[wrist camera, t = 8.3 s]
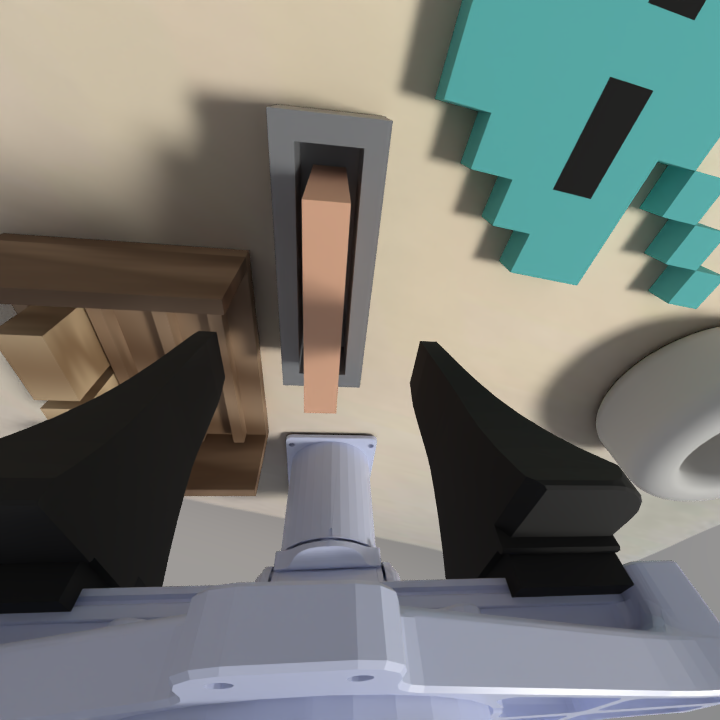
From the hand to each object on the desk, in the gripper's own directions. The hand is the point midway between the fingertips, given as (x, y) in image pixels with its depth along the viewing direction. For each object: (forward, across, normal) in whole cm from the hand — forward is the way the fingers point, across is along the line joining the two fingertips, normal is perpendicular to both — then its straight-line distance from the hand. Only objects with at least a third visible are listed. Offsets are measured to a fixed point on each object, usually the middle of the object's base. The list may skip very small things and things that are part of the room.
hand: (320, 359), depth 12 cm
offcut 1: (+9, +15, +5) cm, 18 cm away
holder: (+10, 0, 0) cm, 10 cm away
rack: (+10, +11, +8) cm, 17 cm away
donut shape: (+10, -31, +10) cm, 34 cm away
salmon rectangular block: (+9, 0, 0) cm, 9 cm away
